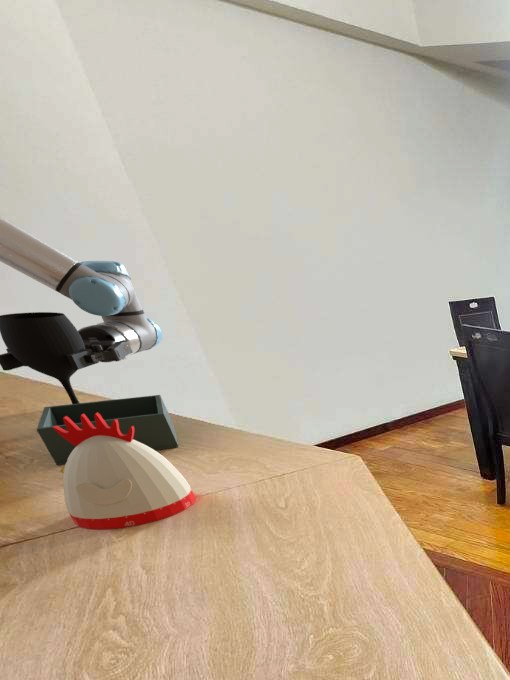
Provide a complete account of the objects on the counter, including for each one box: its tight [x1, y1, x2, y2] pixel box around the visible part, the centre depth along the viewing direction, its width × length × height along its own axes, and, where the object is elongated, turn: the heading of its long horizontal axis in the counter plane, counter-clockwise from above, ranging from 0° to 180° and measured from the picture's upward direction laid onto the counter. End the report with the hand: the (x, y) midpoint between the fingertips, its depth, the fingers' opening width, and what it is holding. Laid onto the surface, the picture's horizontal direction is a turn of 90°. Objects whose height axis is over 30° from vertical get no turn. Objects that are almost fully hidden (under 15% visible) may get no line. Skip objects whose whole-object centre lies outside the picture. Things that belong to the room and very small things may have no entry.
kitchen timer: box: [53, 412, 196, 530], centre depth 87 cm, size 14×14×15 cm
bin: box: [36, 394, 179, 466], centre depth 113 cm, size 17×17×7 cm
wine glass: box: [0, 311, 85, 404], centre depth 117 cm, size 10×10×20 cm
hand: (37, 362), depth 113 cm, fingers closed on wine glass, 10 cm apart
